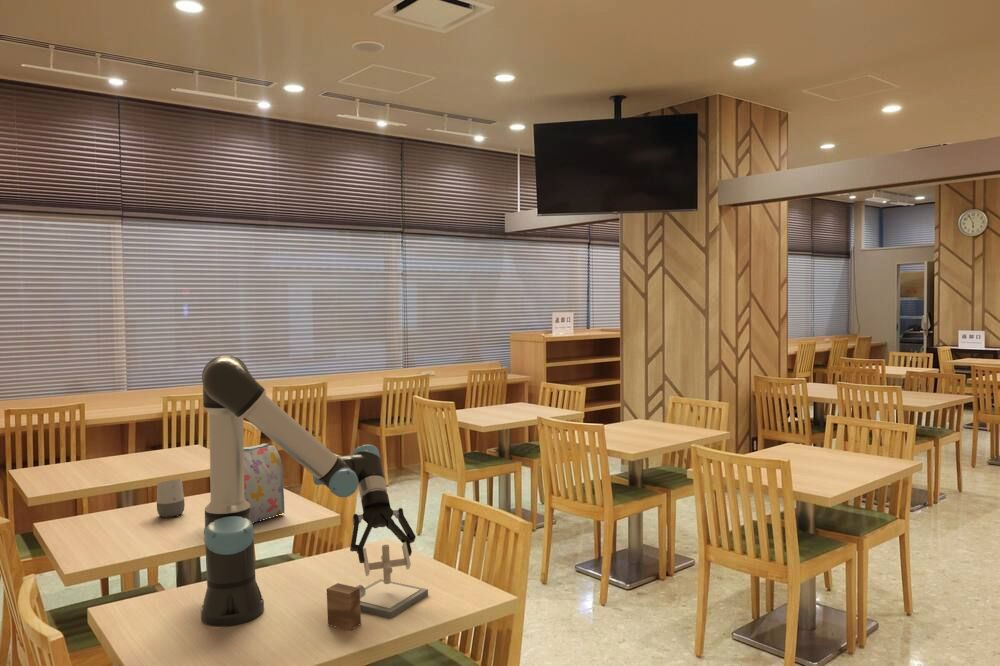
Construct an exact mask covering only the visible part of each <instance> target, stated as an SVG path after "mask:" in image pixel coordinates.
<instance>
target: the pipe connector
mask: <svg viewBox="0 0 1000 666" xmlns="http://www.w3.org/2000/svg"><path fill="white" fill-rule="evenodd" d="M381 552H382V553H381V554H382V555H381V556H380V559H381V561H376V562H375V561H374V562H368V563H369V569H370V571H373V570H382V573H383V574H382V575H383V580H384V584H390V583H391V582H392V580H391V574H393V568H394V567H396V568H397V567H404V566H406V560H405V558H404V557H403V558H398V559H397V558H395V559H391V558H390V545H389V544H383V545H381Z"/></svg>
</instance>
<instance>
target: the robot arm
mask: <svg viewBox="0 0 1000 666" xmlns="http://www.w3.org/2000/svg"><path fill="white" fill-rule="evenodd" d="M201 381H202V382H201V383H202V403H203V404H202V406H203V409H204V410H205V411H206V412H207V413H208V414H209V415H208V416H209V470H210V471H209V480H210V481H209V482H210V487H209V488H210V502H209V503H208V504H207V505H206V506H205V507H204V529H203V534H204V535H203V540H204V546H205V549H204V551H205V565H206V566H205V567H206V570H205V571H206V586H207V587H206V592H205V594H204V599H203V604H202V606H201V609H200V619H201V622H202V623H204V624H206V625H209V626H214V627H217V626H218V627H227V626H228V627H229V626H235V625H239V624H240V625H241V624H244V623H246V622H251V621H252V620H254V619H256V618H258V617H259V616H261V615H262V614H263V612H264V610H265V601H264V598H263V595H262V592H261V590H260V587H259V585H258V583H257V578H256V560H255V557H256V556H255V530H254V526H253V523H251V521H250V504H249V503H248V502H247V501H246V500H245V499H244V447H245V445H244V443H245V439H244V437H245V435H244V434H245V433H244V431H245V430H244V428H245V427H244V419H245V420H247V421H248V422H249V423H250V424H252V425H253V426H254V427H255V428H257V429H258V430H259V431H261V433H262V434H264V435H265V436H266V437H267V438H268V439H269V440H271V441H272V442H273V443H275V444H276V445H277V446H278V447H279V448H280V449H282V450H283V451H284V452H285V453H287V455H288V456H290V457H291V458H292V459H294V460H295V461H296V462H298V463H299V464H300V465H301V466H302V467H303V468H304V469H306V471H308V472H309V473H310V474H312V480H313V483H314V484H315V485H316V486H321V485H322V486H325V487H326V488H328V489H329V490H330V492H331V493H332V494H333V495H335V496H336V497H339V498H348V497H351V496H352V495H353V494H354V493H355V492H356V491H357V489H358V490H359V496H360V500H361V506H362V507H361V508H362V513H361V514H357V513H354V514H353V517H352V523H353V524H352V525H353V530H352V535H351V540H350V541H351V542H350V548H349V549H350V552H356V554H357V555H358V561H359V563H360V564H363V568H364V574H365V577H369V576H370V572H371V570H370V569H369V563H370V562H369V559H368V552H367V548H366V547H365V544H366V542H367V539H368V538H369V535H370V533H371V531H372V529H379V528H387V529H388V530H390V531H391V532H392V534H393V535H395V537H396V538H397V539H398V540H399V541H400V542H401V543H402V546H401V551H402V555H403V559H404V558H405V560H406V565H405V569H406V570H410V567H411V566H412V565H411V564H412V563H411V559H410V557H411V556H412V553H413V550H412V546H411V544H413V543H414V542H415V540H416V534H415V533H414V531H413V529H412V527H411V526H410V523H409V522H408V520H407V518H406V517H405V515H404V509H403V508H402V507H399V508H398V509H392V507H391V503H390V498H389V494H388V488H387V483H386V480H385V476H384V469H383V464H382V458H381V455H380V451H379V449H378V447H377V446H375V445H373V444H363V445H361V446H357V447H356V448H355V449H354V450H353V453H352V454H348V455H340V456H339V455H338V456H337V455H335V454H334V452H332V451H331V450H330V449H329V448H328V447H326V446H325V445H324V444H323V443H322V442H321V441H319V440H318V439H317V438H316V437H315V436H313V434H312V433H310V432H309V431H308V430H306V428H305V427H303V425H301V424H300V423H299V422H298V421H296V420H295V419H294V418H293V417H292V416H291V415H290V414H288V413H287V412H286V411H285V410H284V409H282V408H281V407H280V406H279V405H278V404H277V403H276V402H274V401H273V400H272V399H271V398H270V397H268V396H267V395H266V394H267V391H266V389H265V388H264V387H263V385H261V384H260V383H259V382H258V381H257V380H256V379H255V378H254V377H253V375H252V374H251V373H250V371H249V369H248V367H247V365H246V363H245V362H244V361H243V360H241V359H240V358H238V357H236V356H233V355H220V356H217V357H214V358H212V359H210V360H209V361H208V362H207V363H206V364H205V366H204V368H203V370H202V372H201ZM393 516H394V517H395V518H396V519H397V520H398V522H399V525H400V526H401V528H400V527H399V525H397V524H396V522H395V521H394V520H393V518H392V517H393ZM362 520H363V521H364V522H365V523H367V525H366V527H365V530H364V532H363V535H362V536H361V538H360V542H359V543H358V544H356V543H357V538H358V532H359V528H360V527H359V525H360V524H362Z"/></svg>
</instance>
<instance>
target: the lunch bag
mask: <svg viewBox="0 0 1000 666" xmlns="http://www.w3.org/2000/svg"><path fill="white" fill-rule="evenodd" d="M269 444H270V443H261V444H258V445H254V446H244V499H245V500H246V501H247V502H248V503H249V504H250V521H251V523H252V524H254V523H253V522H256V523H258V522H257V521H259V522H261V521H260V520H263V519H266V518H269V517H273V516H276V515H279V514H282V513H284V514H285V492H284V490H285V489H284V471H283V463H282V459H281V456H280V453H279V452H278V450H277V448H276V446H274V445H269ZM273 518H274V517H273ZM263 521H264V520H263Z"/></svg>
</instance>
